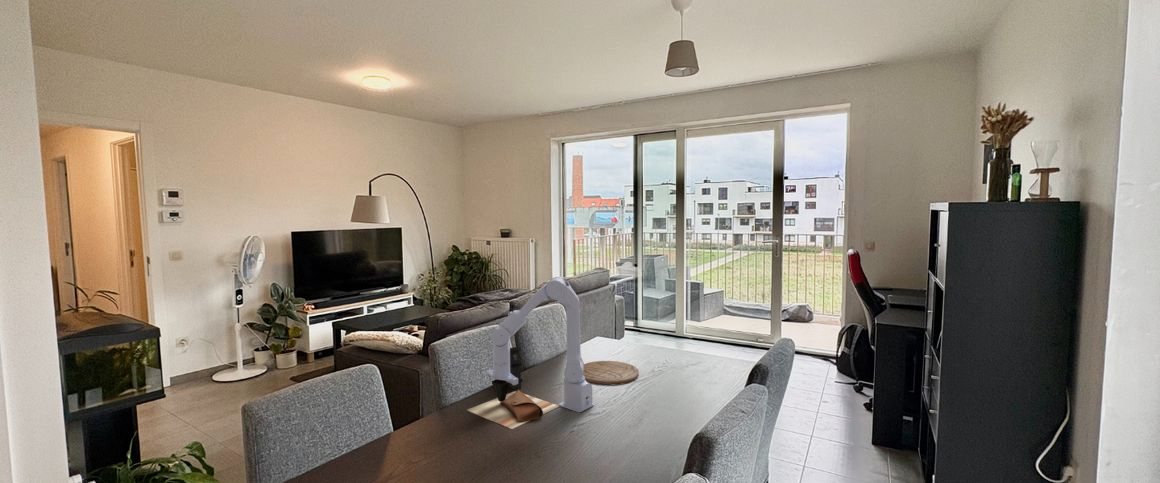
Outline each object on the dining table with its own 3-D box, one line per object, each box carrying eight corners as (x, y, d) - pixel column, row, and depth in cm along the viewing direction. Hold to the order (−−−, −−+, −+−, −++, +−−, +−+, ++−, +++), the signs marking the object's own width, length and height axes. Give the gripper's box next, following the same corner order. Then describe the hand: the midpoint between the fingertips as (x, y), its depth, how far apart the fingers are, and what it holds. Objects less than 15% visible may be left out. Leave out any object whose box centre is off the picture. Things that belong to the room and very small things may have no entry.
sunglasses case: (497, 402, 163) (506, 384, 164) (513, 408, 166) (522, 390, 168) (519, 421, 148) (529, 401, 149) (536, 428, 151) (546, 408, 153)
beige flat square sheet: (560, 406, 161) (560, 406, 161) (511, 429, 144) (511, 428, 144) (515, 391, 175) (515, 390, 175) (466, 410, 158) (466, 409, 158)
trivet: (599, 361, 212) (599, 357, 212) (649, 372, 197) (649, 367, 197) (564, 377, 191) (564, 372, 191) (618, 390, 177) (618, 385, 177)
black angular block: (516, 388, 173) (509, 347, 178) (504, 393, 184) (497, 354, 189) (526, 386, 175) (518, 346, 180) (513, 391, 186) (506, 353, 190)
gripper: (478, 360, 164) (479, 398, 165) (507, 369, 155) (507, 409, 156) (494, 355, 170) (494, 393, 170) (522, 363, 160) (523, 403, 161)
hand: (501, 400), depth 163 cm, fingers closed
